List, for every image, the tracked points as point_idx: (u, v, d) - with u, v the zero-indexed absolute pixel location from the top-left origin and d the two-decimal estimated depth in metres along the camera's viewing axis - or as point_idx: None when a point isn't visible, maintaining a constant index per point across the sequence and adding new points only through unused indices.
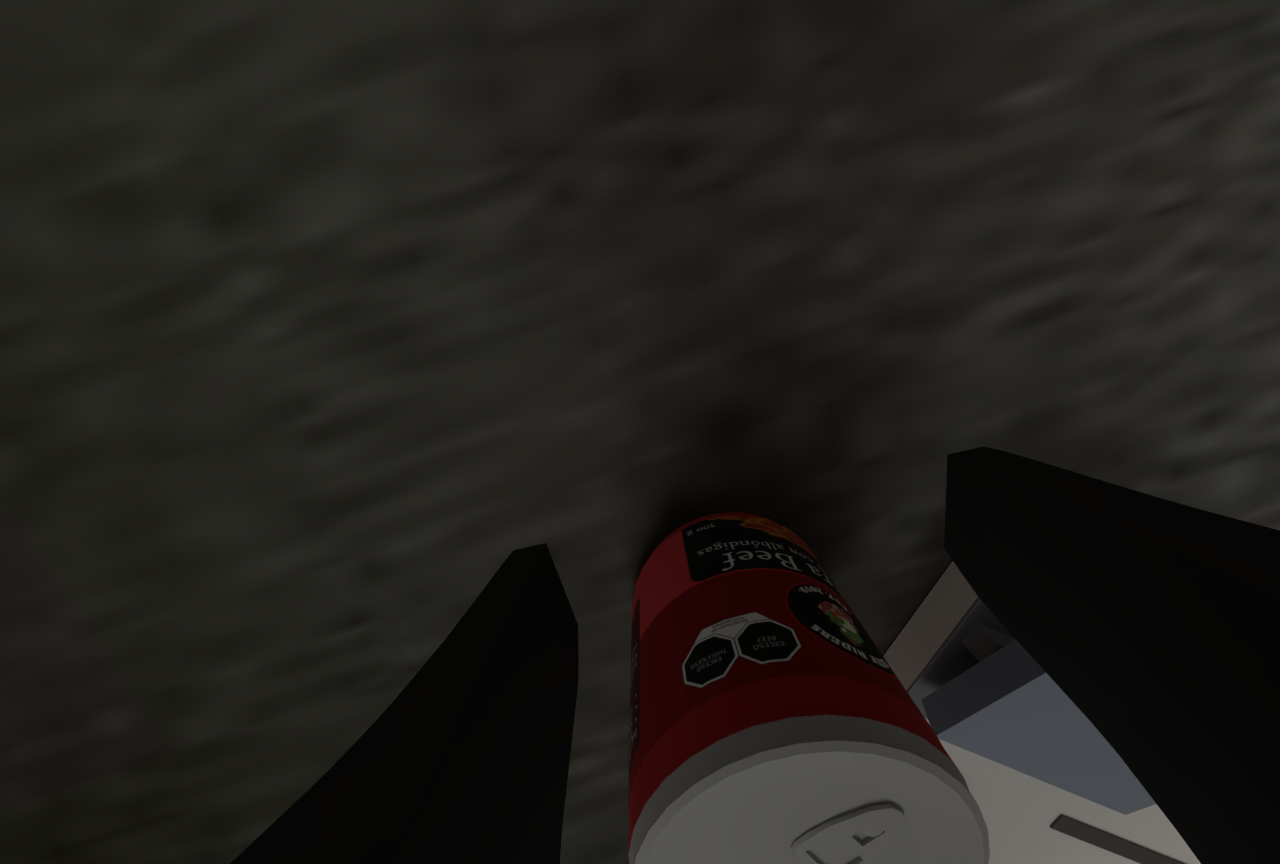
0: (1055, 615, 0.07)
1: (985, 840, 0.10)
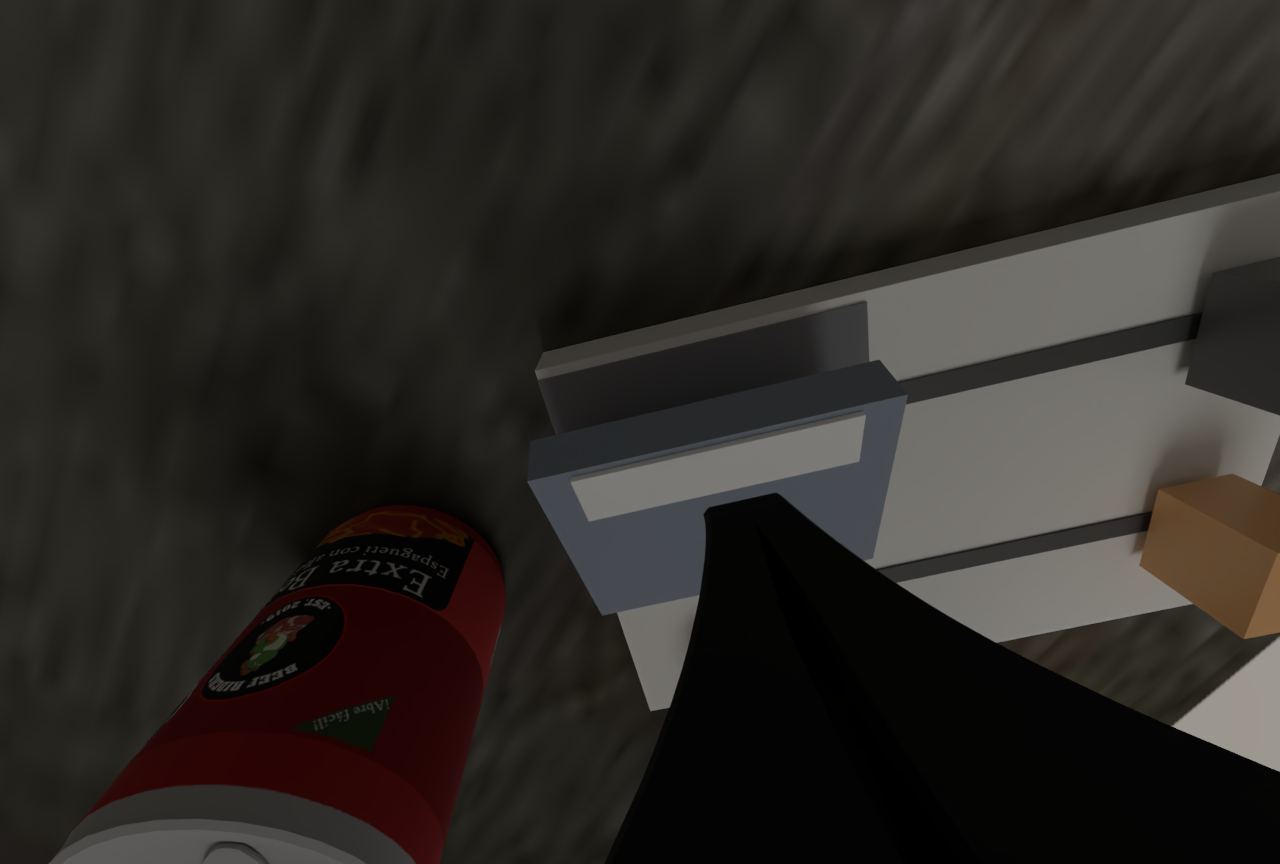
0: None
1: (288, 839, 0.10)
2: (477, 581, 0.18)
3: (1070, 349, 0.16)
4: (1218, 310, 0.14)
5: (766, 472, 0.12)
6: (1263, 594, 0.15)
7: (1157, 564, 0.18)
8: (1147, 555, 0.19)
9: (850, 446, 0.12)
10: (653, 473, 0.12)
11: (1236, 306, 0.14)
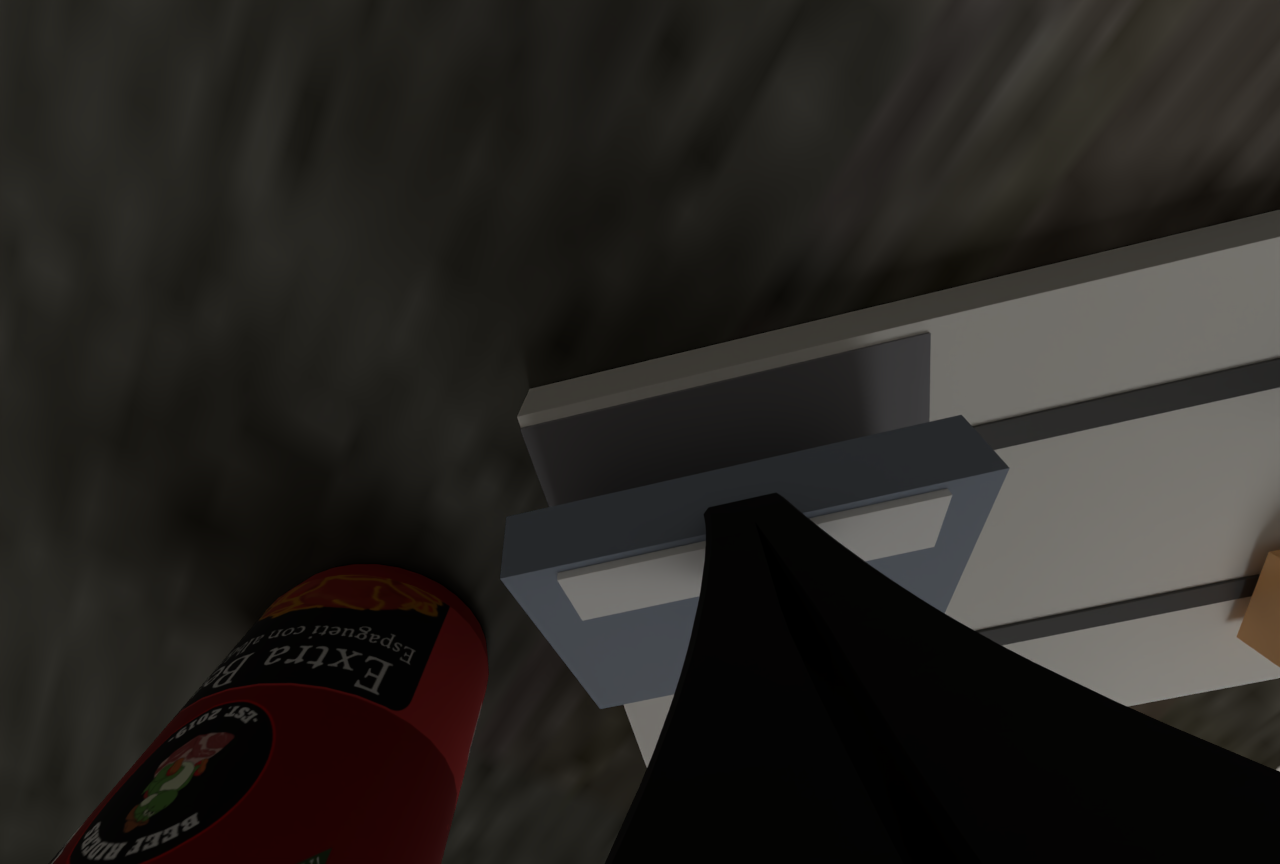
0: None
1: None
2: (452, 660, 0.15)
3: (1177, 389, 0.13)
4: None
5: None
6: None
7: (1263, 639, 0.15)
8: (1248, 626, 0.16)
9: (926, 530, 0.09)
10: (666, 567, 0.09)
11: None
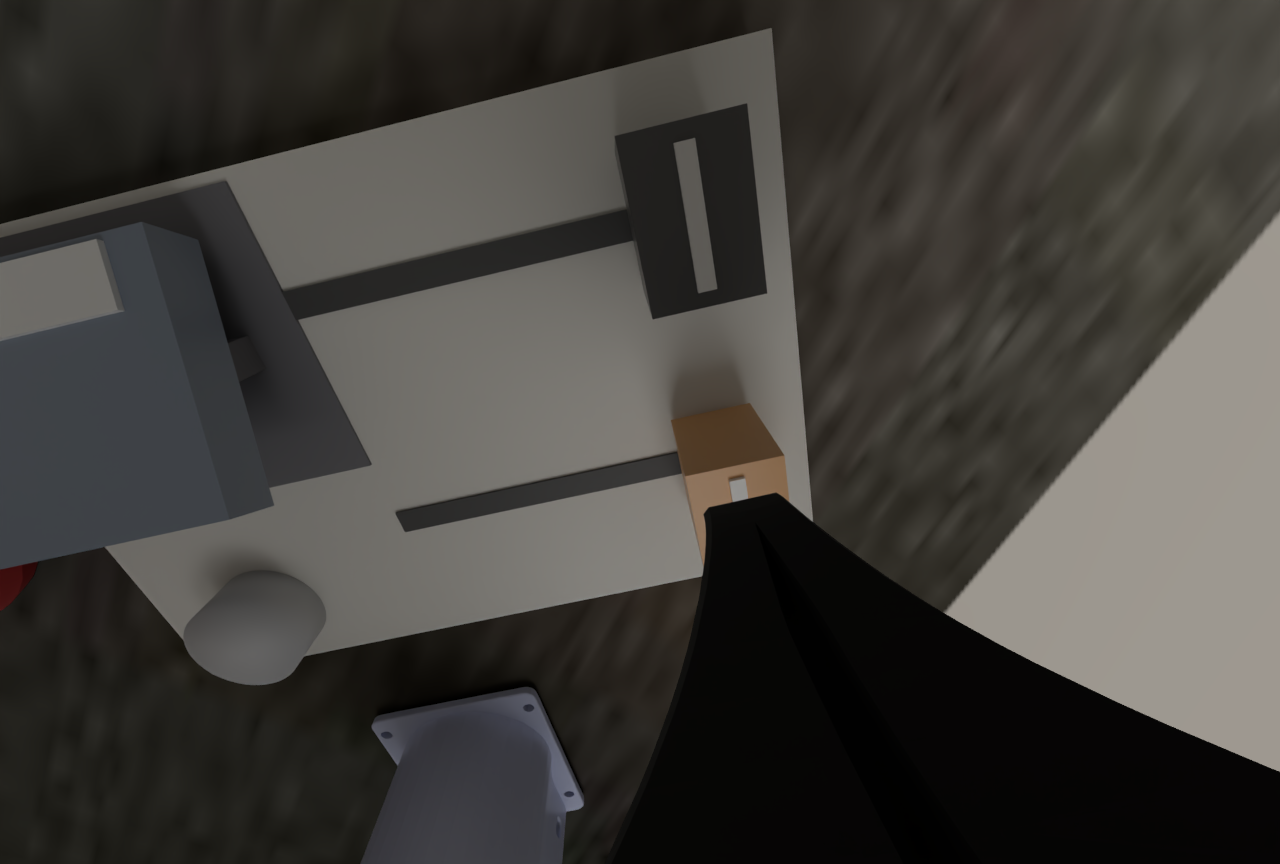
0: None
1: None
2: None
3: (500, 248, 0.14)
4: (624, 196, 0.13)
5: (17, 316, 0.11)
6: (697, 527, 0.13)
7: (689, 507, 0.16)
8: (687, 498, 0.17)
9: (97, 284, 0.11)
10: None
11: (622, 187, 0.12)
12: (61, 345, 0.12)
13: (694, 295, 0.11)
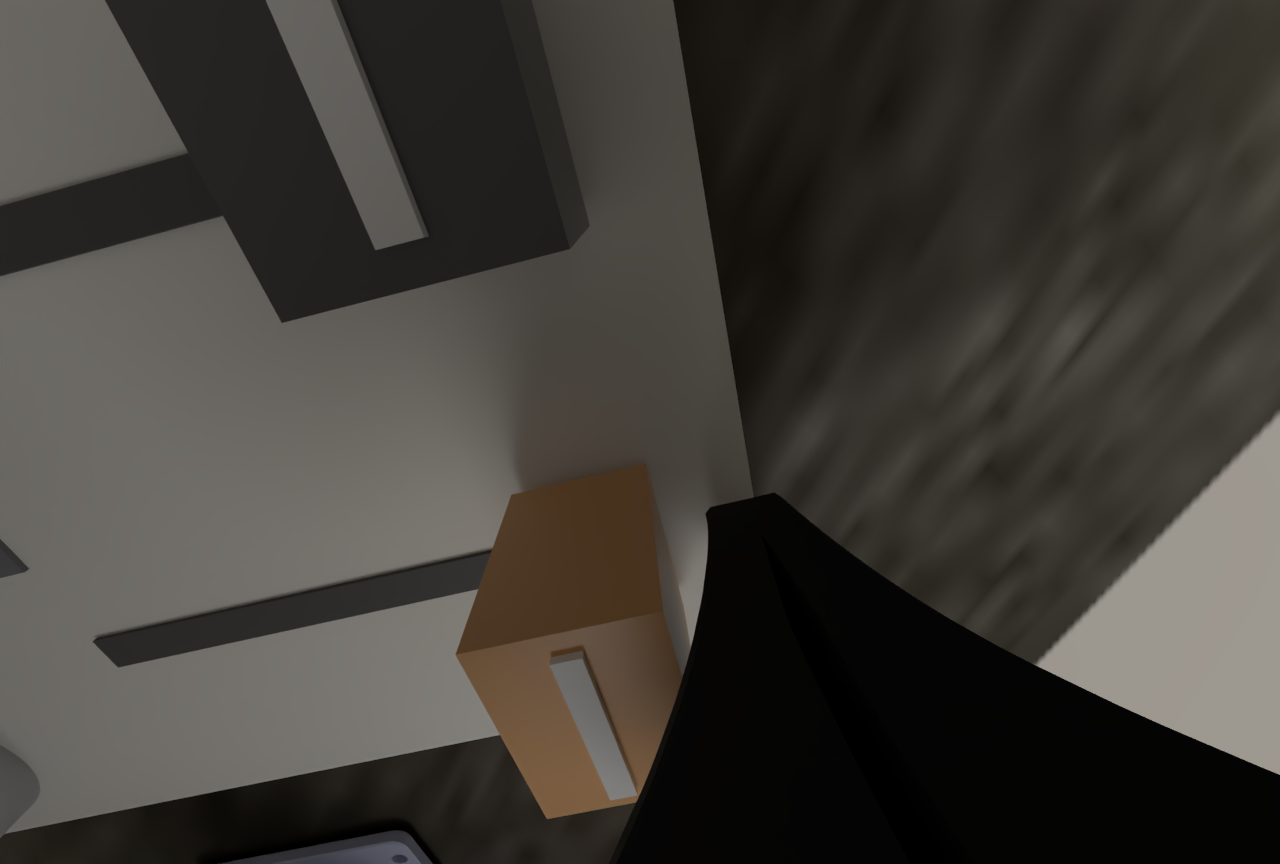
0: None
1: None
2: None
3: (134, 187, 0.07)
4: None
5: None
6: (507, 738, 0.07)
7: None
8: None
9: None
10: None
11: None
12: None
13: (373, 257, 0.04)
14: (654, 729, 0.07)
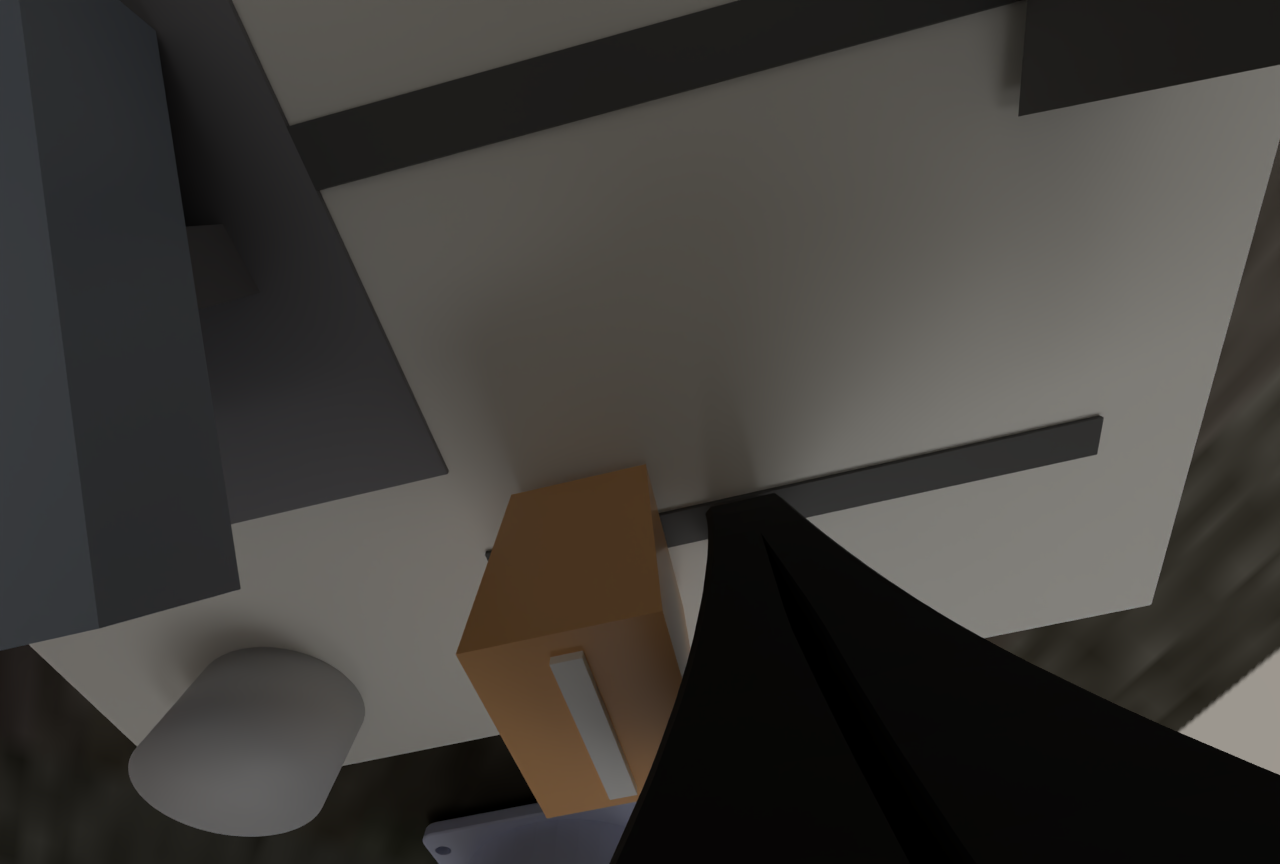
0: None
1: None
2: None
3: (737, 20, 0.07)
4: None
5: None
6: (507, 737, 0.07)
7: None
8: None
9: None
10: None
11: None
12: None
13: None
14: (653, 729, 0.07)
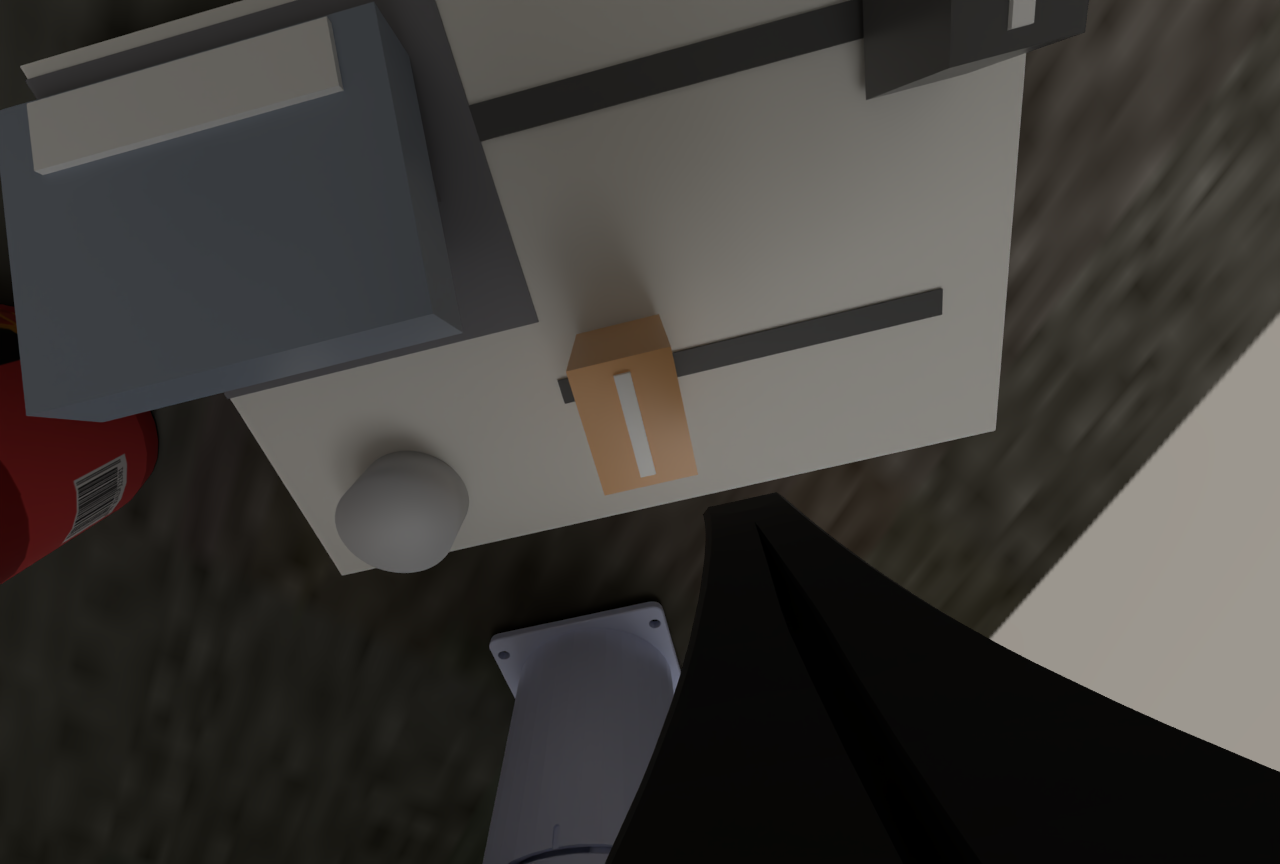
0: None
1: None
2: None
3: (712, 48, 0.12)
4: None
5: (231, 98, 0.11)
6: (587, 431, 0.12)
7: None
8: None
9: (321, 60, 0.10)
10: (109, 94, 0.11)
11: None
12: (271, 129, 0.11)
13: (1003, 34, 0.09)
14: (665, 428, 0.12)
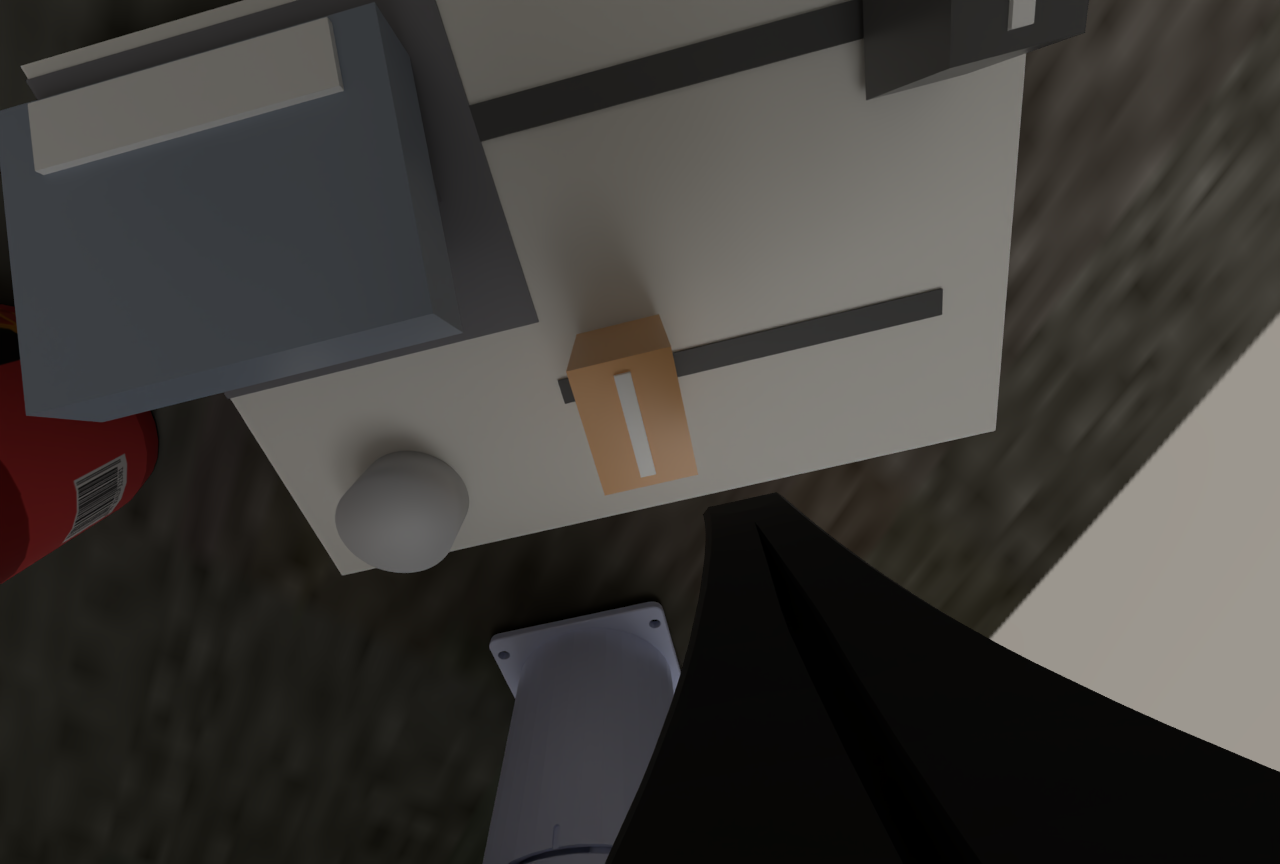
0: None
1: None
2: None
3: (712, 49, 0.12)
4: None
5: (232, 98, 0.11)
6: (587, 431, 0.12)
7: None
8: None
9: (321, 60, 0.11)
10: (110, 94, 0.11)
11: None
12: (271, 129, 0.11)
13: (1003, 34, 0.09)
14: (665, 428, 0.12)
